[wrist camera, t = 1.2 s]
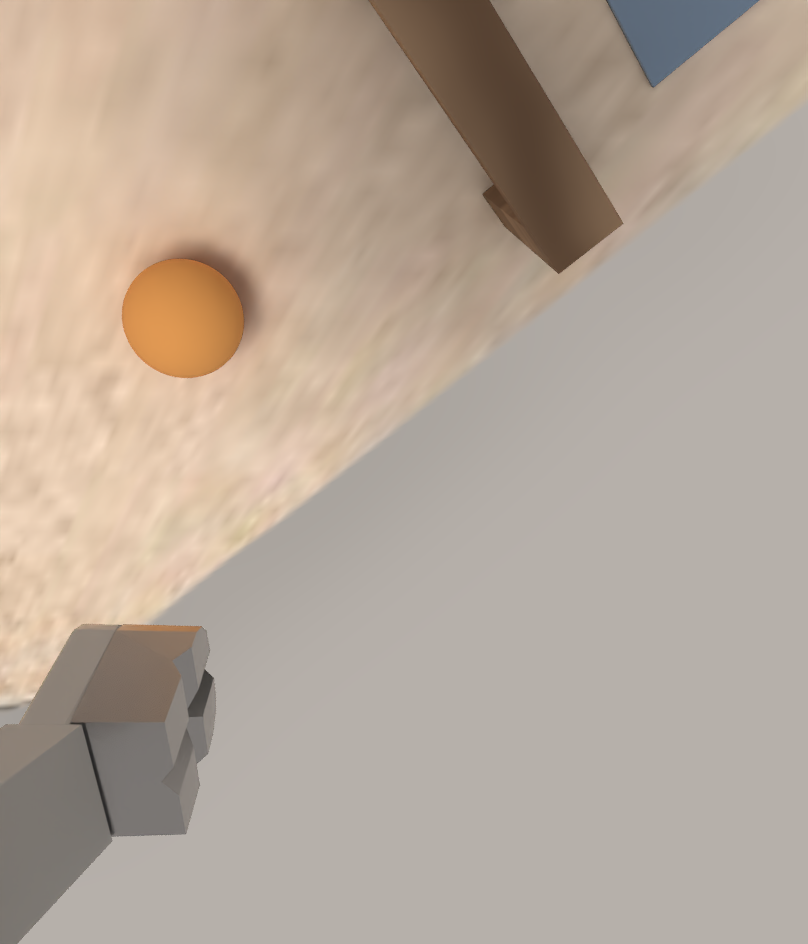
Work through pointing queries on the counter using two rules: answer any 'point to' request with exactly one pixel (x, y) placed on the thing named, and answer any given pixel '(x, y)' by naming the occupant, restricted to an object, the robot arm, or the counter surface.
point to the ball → (182, 318)
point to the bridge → (505, 125)
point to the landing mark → (672, 29)
